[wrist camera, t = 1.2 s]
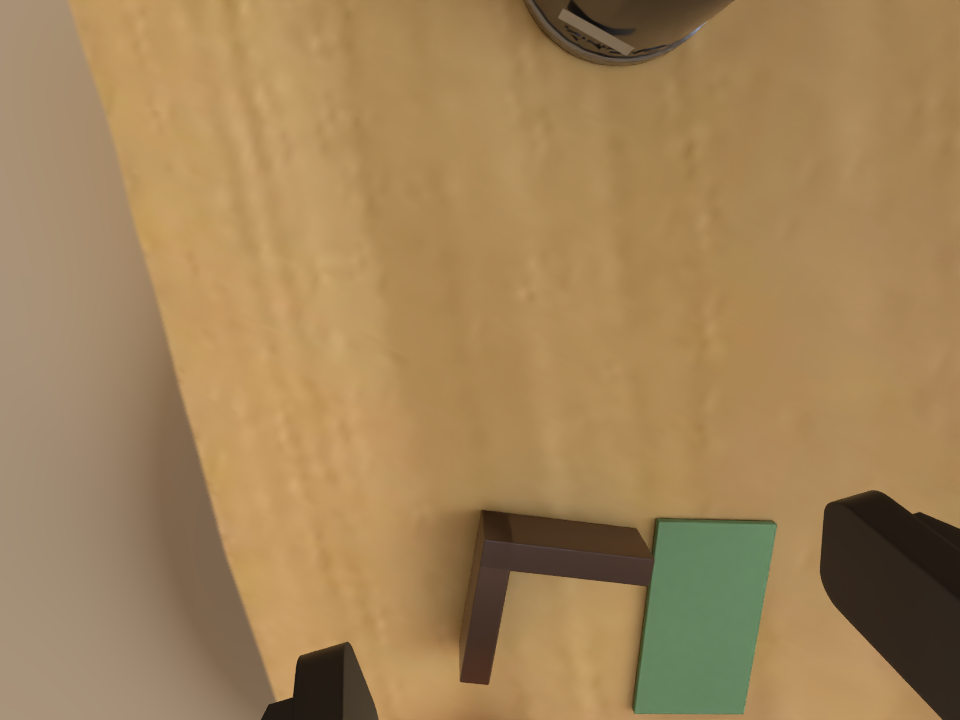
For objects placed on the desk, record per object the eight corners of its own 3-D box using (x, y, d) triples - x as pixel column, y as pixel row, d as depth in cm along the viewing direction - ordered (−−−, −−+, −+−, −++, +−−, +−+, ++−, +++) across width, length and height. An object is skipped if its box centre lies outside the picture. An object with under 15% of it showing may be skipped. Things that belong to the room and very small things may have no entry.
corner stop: (481, 509, 31) (484, 539, 29) (637, 528, 32) (655, 559, 29) (458, 641, 33) (459, 682, 30) (607, 657, 34) (621, 698, 31)
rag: (656, 518, 32) (658, 521, 32) (773, 521, 32) (777, 524, 32) (632, 708, 35) (634, 713, 34) (740, 709, 35) (743, 714, 35)
